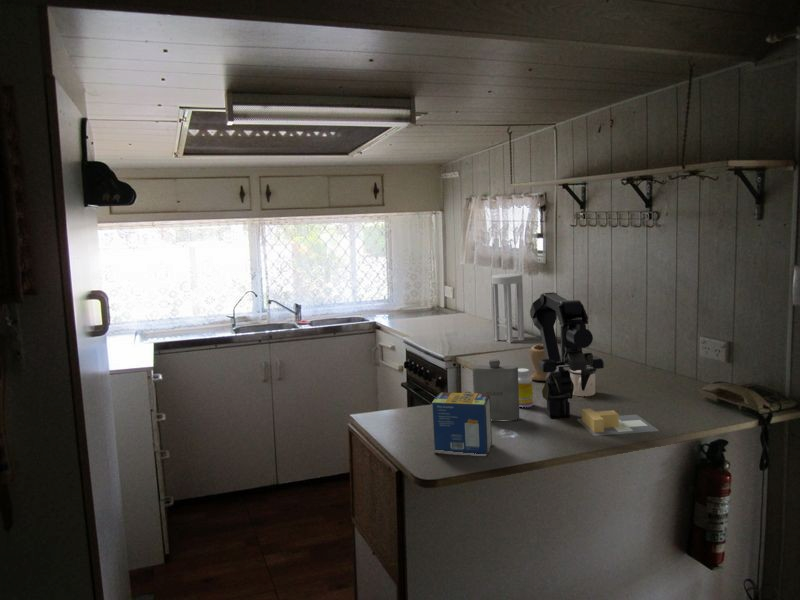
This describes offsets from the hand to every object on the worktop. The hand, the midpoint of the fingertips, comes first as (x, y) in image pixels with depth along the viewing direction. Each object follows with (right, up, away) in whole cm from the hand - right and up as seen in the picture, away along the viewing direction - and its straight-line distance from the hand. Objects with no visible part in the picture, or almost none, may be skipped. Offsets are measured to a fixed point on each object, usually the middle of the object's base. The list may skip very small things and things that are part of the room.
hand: (571, 391), depth 194 cm
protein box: (-34, -16, -10) cm, 39 cm away
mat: (+14, -11, +2) cm, 18 cm away
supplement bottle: (-9, -9, +28) cm, 31 cm away
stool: (+5, +6, +142) cm, 142 cm away
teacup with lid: (+14, -7, +37) cm, 40 cm away
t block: (+10, -11, +2) cm, 15 cm away
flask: (-21, -12, +15) cm, 28 cm away
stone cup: (+7, -4, +58) cm, 59 cm away
